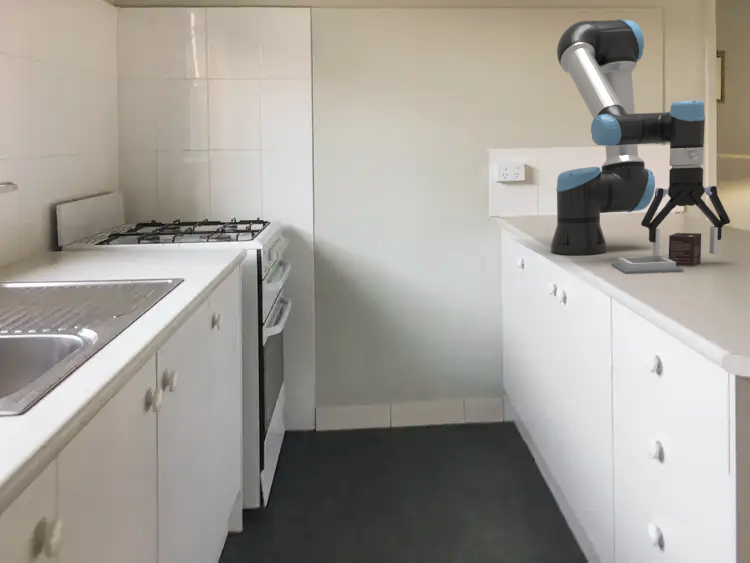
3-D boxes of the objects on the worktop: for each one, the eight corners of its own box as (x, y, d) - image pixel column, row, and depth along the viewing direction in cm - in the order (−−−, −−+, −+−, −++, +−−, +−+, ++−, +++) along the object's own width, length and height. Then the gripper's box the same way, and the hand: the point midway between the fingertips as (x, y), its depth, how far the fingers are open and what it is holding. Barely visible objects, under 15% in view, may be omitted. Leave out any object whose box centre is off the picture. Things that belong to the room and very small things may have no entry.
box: (676, 261, 191) (676, 232, 190) (701, 263, 187) (701, 233, 186) (667, 265, 186) (668, 235, 185) (693, 266, 183) (694, 236, 181)
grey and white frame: (611, 265, 189) (611, 257, 189) (665, 263, 188) (665, 255, 188) (625, 273, 176) (625, 264, 176) (683, 271, 176) (683, 262, 175)
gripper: (637, 169, 180) (636, 258, 183) (746, 164, 178) (743, 254, 182) (628, 168, 187) (628, 254, 191) (733, 164, 186) (731, 251, 189)
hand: (684, 255), depth 186 cm, fingers open, 13 cm apart
